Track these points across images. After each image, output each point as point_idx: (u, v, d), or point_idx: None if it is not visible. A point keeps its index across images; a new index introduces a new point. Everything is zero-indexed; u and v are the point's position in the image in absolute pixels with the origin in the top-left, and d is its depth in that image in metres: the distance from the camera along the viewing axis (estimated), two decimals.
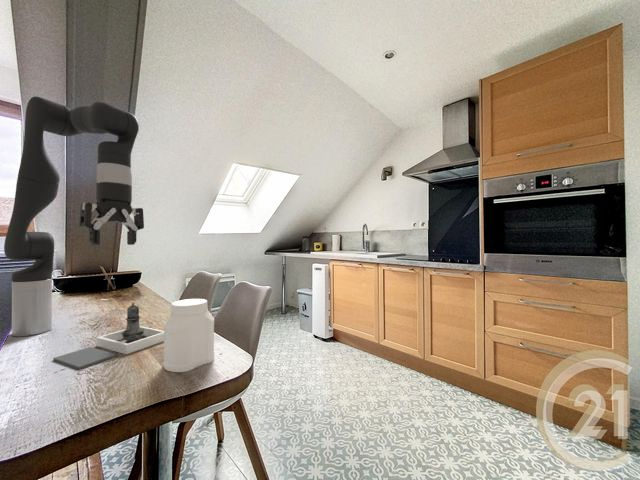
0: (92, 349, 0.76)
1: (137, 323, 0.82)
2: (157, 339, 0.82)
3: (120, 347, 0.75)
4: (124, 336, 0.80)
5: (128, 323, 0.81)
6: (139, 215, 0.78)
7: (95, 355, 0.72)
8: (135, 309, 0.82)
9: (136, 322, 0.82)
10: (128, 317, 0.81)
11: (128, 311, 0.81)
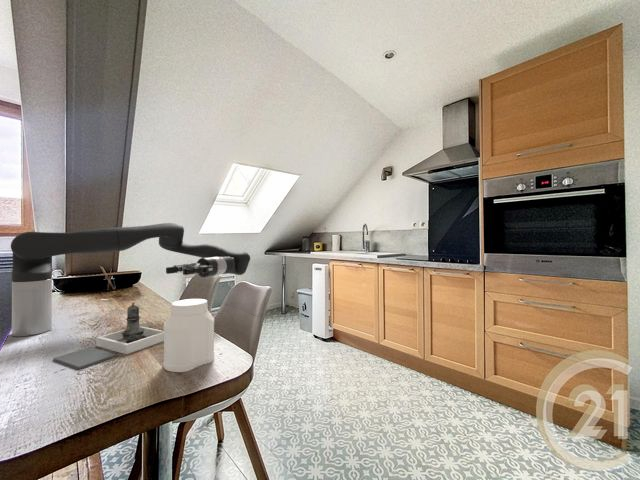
0: (92, 349, 0.76)
1: (137, 323, 0.82)
2: (157, 339, 0.82)
3: (120, 347, 0.75)
4: (124, 336, 0.80)
5: (128, 323, 0.81)
6: None
7: (95, 355, 0.72)
8: (135, 309, 0.82)
9: (136, 322, 0.82)
10: (128, 317, 0.81)
11: (128, 311, 0.81)
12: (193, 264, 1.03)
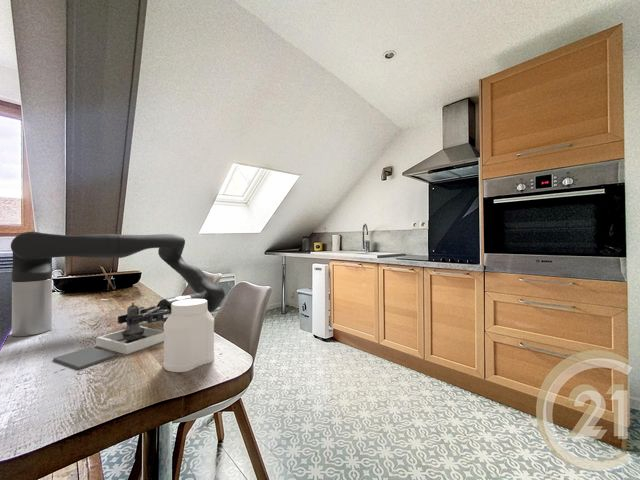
0: (92, 349, 0.76)
1: (137, 323, 0.82)
2: (157, 339, 0.82)
3: (120, 347, 0.75)
4: (124, 336, 0.80)
5: None
6: None
7: (95, 355, 0.72)
8: (135, 309, 0.82)
9: None
10: (128, 317, 0.81)
11: (128, 311, 0.81)
12: (153, 308, 0.89)
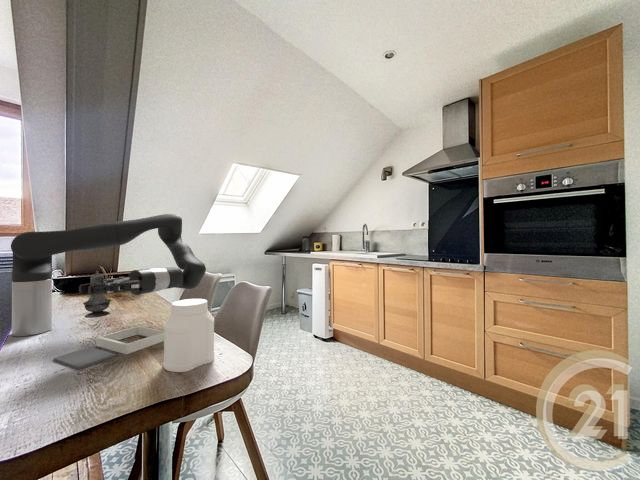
0: (92, 349, 0.76)
1: (102, 293, 0.74)
2: (157, 339, 0.82)
3: (120, 347, 0.75)
4: (86, 307, 0.72)
5: None
6: None
7: (95, 355, 0.72)
8: (99, 277, 0.73)
9: None
10: None
11: (91, 279, 0.73)
12: (122, 278, 0.80)
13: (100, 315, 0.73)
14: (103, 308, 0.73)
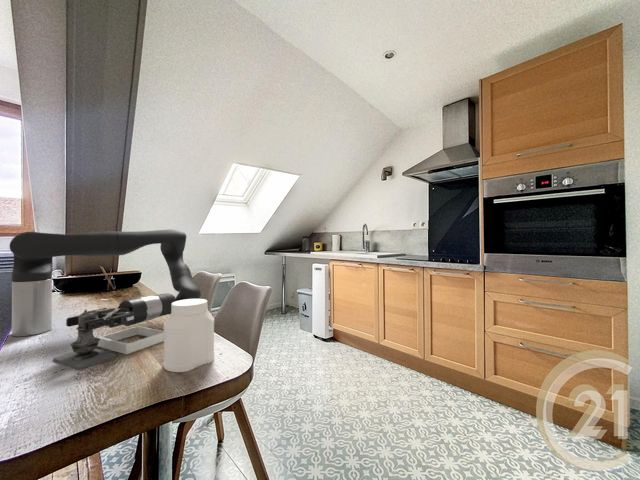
0: None
1: (90, 333, 0.71)
2: (157, 339, 0.82)
3: (120, 347, 0.75)
4: (73, 348, 0.69)
5: (79, 333, 0.70)
6: (99, 317, 0.79)
7: None
8: (87, 317, 0.71)
9: (89, 332, 0.71)
10: (79, 326, 0.70)
11: (79, 319, 0.70)
12: (110, 310, 0.78)
13: (88, 357, 0.70)
14: (91, 349, 0.71)
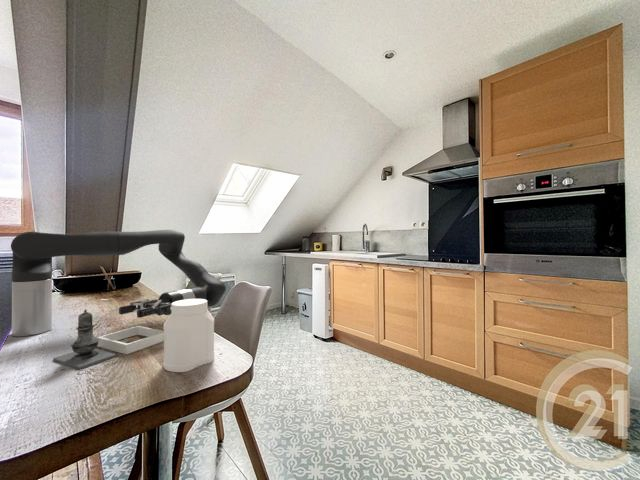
0: None
1: (90, 333, 0.71)
2: (157, 339, 0.82)
3: (120, 347, 0.75)
4: (73, 348, 0.69)
5: (79, 333, 0.70)
6: (143, 307, 0.91)
7: None
8: (87, 317, 0.71)
9: (89, 332, 0.71)
10: (79, 326, 0.70)
11: (79, 319, 0.70)
12: (153, 301, 0.89)
13: (88, 357, 0.70)
14: (91, 349, 0.71)
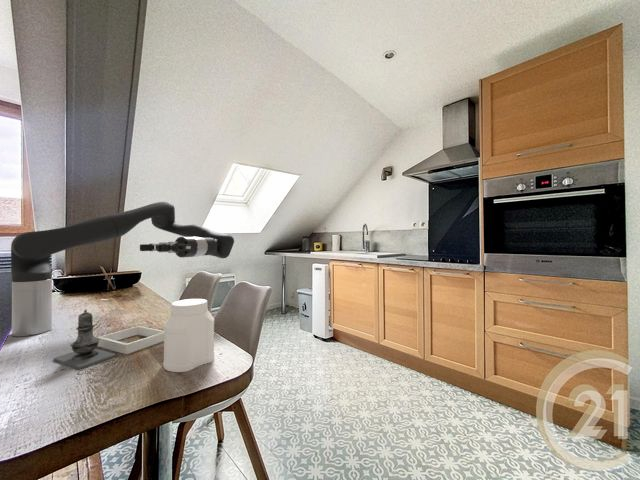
0: None
1: (90, 333, 0.71)
2: (157, 339, 0.82)
3: (120, 347, 0.75)
4: (73, 348, 0.69)
5: (79, 333, 0.70)
6: None
7: None
8: (87, 317, 0.71)
9: (89, 332, 0.71)
10: (79, 326, 0.70)
11: (79, 319, 0.70)
12: (170, 242, 0.97)
13: (88, 357, 0.70)
14: (91, 349, 0.71)
